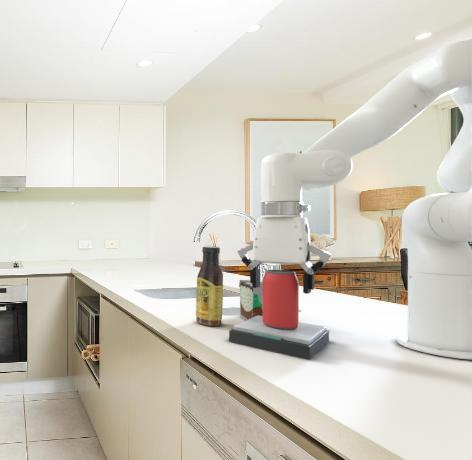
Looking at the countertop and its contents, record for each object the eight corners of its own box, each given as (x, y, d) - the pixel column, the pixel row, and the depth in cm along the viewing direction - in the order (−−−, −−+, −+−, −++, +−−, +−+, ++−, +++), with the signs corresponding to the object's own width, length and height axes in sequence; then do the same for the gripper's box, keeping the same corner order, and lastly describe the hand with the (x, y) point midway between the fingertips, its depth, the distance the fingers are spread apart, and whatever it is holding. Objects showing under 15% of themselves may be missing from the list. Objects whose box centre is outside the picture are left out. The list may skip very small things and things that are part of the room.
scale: (256, 327, 88) (256, 314, 88) (328, 341, 77) (329, 326, 77) (228, 341, 77) (229, 326, 77) (309, 359, 66) (309, 342, 66)
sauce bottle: (191, 320, 94) (191, 245, 94) (213, 320, 95) (214, 246, 95) (204, 327, 88) (205, 247, 88) (228, 327, 88) (228, 247, 88)
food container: (280, 326, 89) (281, 286, 89) (253, 325, 90) (254, 285, 90) (262, 315, 101) (262, 280, 101) (238, 314, 102) (238, 279, 102)
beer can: (261, 327, 76) (261, 271, 76) (263, 320, 82) (263, 268, 82) (298, 332, 73) (298, 273, 73) (298, 325, 78) (298, 270, 78)
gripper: (334, 210, 73) (334, 293, 73) (244, 213, 86) (244, 283, 86) (326, 208, 68) (326, 297, 68) (232, 212, 81) (232, 287, 81)
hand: (280, 289), depth 77 cm, fingers open, 9 cm apart
